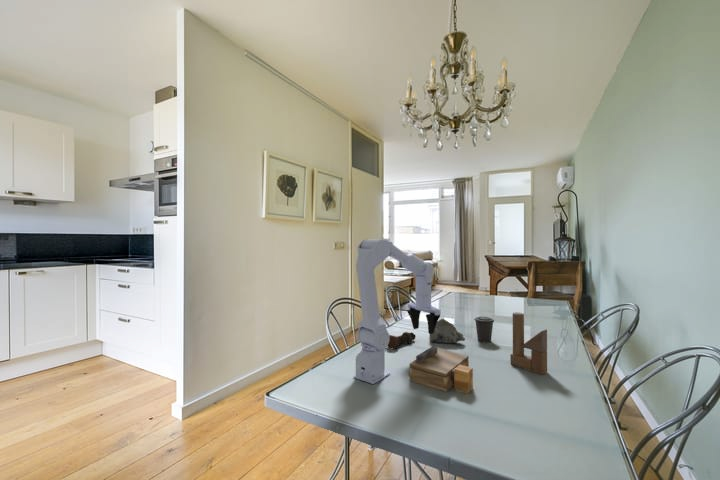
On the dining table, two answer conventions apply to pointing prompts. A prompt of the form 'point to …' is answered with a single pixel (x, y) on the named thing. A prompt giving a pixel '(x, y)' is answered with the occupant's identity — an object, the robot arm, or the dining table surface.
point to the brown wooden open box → (433, 378)
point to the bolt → (400, 339)
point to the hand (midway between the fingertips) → (423, 330)
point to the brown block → (463, 378)
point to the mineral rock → (445, 333)
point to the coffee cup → (484, 328)
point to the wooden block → (528, 347)
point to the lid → (438, 361)
